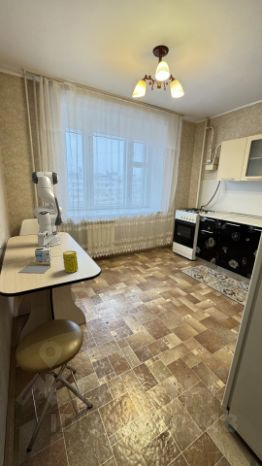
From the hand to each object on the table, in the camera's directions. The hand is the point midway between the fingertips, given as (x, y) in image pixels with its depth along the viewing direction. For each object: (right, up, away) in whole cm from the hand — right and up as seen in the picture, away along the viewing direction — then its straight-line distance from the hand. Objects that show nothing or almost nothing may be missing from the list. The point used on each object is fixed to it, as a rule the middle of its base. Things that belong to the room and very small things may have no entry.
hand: (47, 248), depth 159 cm
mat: (0, -14, -19) cm, 23 cm away
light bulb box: (0, -11, -5) cm, 12 cm away
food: (+26, -15, -19) cm, 35 cm away
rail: (0, -12, -12) cm, 17 cm away
